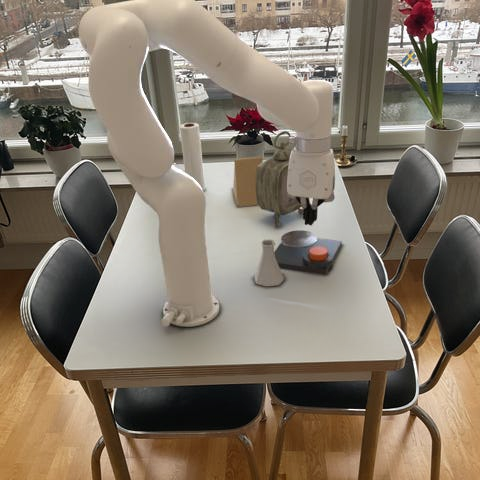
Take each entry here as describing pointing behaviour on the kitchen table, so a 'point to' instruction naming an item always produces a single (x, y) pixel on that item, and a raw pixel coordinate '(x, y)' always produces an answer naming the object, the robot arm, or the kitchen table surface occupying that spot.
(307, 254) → the scale
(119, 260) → the kitchen table surface
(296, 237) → the weighing pan
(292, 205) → the tabletop clock
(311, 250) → the scale button
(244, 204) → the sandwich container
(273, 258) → the flask
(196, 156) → the paper towel roll
